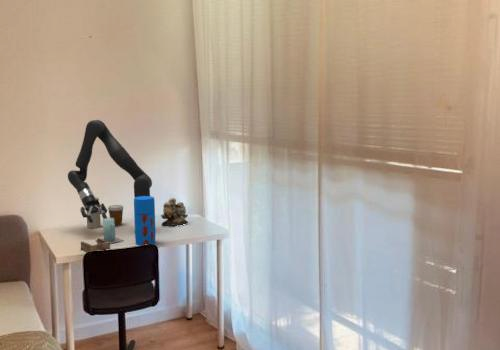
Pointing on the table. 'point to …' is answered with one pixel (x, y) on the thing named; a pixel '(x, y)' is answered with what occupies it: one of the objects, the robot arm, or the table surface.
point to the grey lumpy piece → (174, 213)
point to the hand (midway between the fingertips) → (98, 220)
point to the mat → (115, 240)
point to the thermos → (144, 220)
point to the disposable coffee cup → (116, 214)
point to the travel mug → (94, 218)
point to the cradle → (99, 246)
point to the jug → (109, 229)
